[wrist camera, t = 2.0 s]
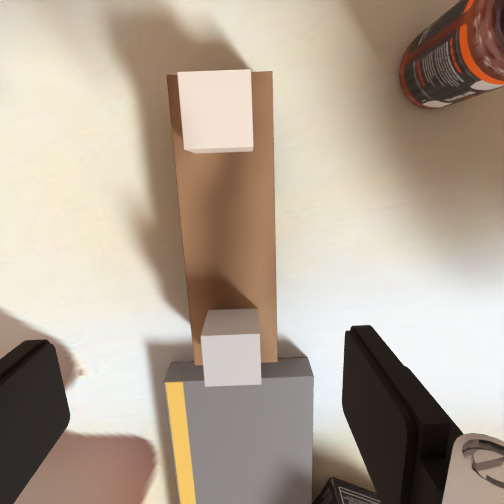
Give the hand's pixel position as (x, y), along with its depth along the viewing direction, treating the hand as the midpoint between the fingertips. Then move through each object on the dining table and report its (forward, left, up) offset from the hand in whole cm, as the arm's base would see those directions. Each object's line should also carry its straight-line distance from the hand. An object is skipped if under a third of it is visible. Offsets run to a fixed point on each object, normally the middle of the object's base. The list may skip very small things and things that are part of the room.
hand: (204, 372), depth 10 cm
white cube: (0, +6, -14) cm, 16 cm away
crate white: (0, -10, -14) cm, 17 cm away
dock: (0, +25, -19) cm, 32 cm away
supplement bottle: (-17, -14, -19) cm, 29 cm away
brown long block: (0, -2, -19) cm, 19 cm away
